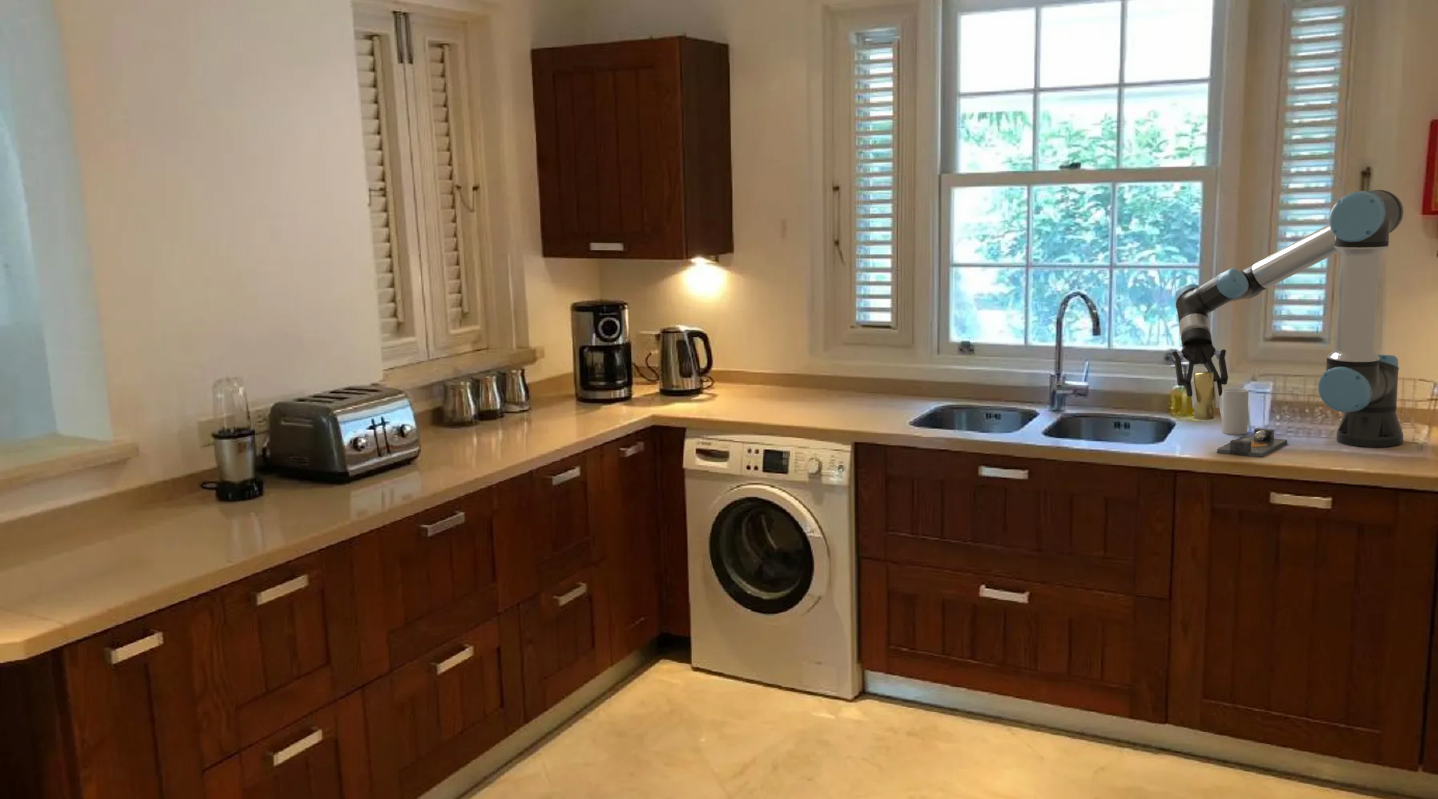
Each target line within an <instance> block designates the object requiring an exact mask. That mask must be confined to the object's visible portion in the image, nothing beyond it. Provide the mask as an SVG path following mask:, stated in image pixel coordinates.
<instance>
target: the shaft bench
mask: <svg viewBox="0 0 1438 799" xmlns="http://www.w3.org/2000/svg"><path fill="white" fill-rule="evenodd" d="M1287 444H1288V439H1286V438H1285V439H1284V438H1275V429H1270V428H1261V427H1256V428H1254V429H1253V436H1252V435H1242V436H1240V437H1238V438H1236V439H1231V440H1230V441H1229V442H1228V443H1226V444H1224V445H1222V446H1220V447H1218V448H1217V449H1216V453H1217V454H1224V453H1225V454H1224V455H1226V454H1228V455H1234V456H1244V457H1245V456H1246V457H1254V458H1255V457H1256V458H1263V457H1265V456H1266V455H1269V454H1270V453H1272V452H1274V451H1275V450H1277V449H1280V448H1282V447H1283V446H1285V445H1287Z"/></svg>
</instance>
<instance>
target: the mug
mask: <svg viewBox="0 0 1438 799" xmlns="http://www.w3.org/2000/svg"><path fill="white" fill-rule="evenodd" d="M1249 391H1250V390H1249V388H1242V387H1241V388H1240V387H1226V388H1222V395H1221V396H1219V398H1220V404H1219V413H1220V418H1221V425H1222V426H1221V430H1222V434H1226V435H1234V436H1235V435H1245V434H1247V432H1248V416H1249V411H1248V410H1249Z"/></svg>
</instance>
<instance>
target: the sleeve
mask: <svg viewBox="0 0 1438 799" xmlns="http://www.w3.org/2000/svg"><path fill="white" fill-rule="evenodd" d="M1193 382H1194V384H1195V391H1196V397H1197V407H1196V409H1193V411H1194V412H1193V413H1194V414H1193V417H1194V418H1193V419H1194V420H1198V421H1208V420H1214V419H1215V401H1214V372H1208V371H1195V372H1193Z"/></svg>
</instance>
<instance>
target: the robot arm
mask: <svg viewBox="0 0 1438 799" xmlns="http://www.w3.org/2000/svg"><path fill="white" fill-rule="evenodd" d="M1404 212H1405V211H1404V206H1403V203H1402V201H1401V200H1400V198H1399V197H1398V196H1397V195H1396V194H1395V193H1393V192H1390V191H1388V190H1384V189H1374V190H1373V189H1371V190H1360V191H1358V190H1357V191H1354V192H1351V193H1348V194H1346V195H1344V196H1342V197H1341V198H1340V199H1338V200H1337V201H1336V203H1335V204H1334V205H1333V207H1332V208H1331V210H1330V213H1329V218H1328V224H1327V225H1324V226H1323V227H1321V228H1319V229H1317V230H1316V231H1314V232H1312V233H1310V234H1308V235H1306V236H1305V237H1303V238H1300V239H1298V240H1296V241H1294V242H1293V243H1291V244H1289V245H1287V246H1285V247H1284V248H1282V249H1280V250H1278V251H1276V252H1274V253H1272V254H1271V255H1268V256H1267V257H1265V258H1263V259H1261V260H1259V261H1257V262H1256V263H1253V264H1251V265H1249V266H1248V267H1246V268H1244V269H1242V270H1240V269H1238V268H1236V267H1232V268H1229V269H1226V270H1225V271H1221V273H1219V274H1218V275H1216V276H1215V277H1213V278H1212V279H1210V280H1208V281H1206V282H1205V283H1203V284H1202V285H1199V284H1195V283H1190V284H1188V285H1183V286H1181V287H1179V288H1178V289H1177V290H1176V292H1175V308H1176V312H1177V318H1178V324H1179V325H1178V327H1179V333H1180V335H1179V336H1180V341H1181V347H1182V348H1181V350H1180V351H1176V350H1175V351H1173V352H1172V355H1171V360H1172V361H1173V363H1174V366H1175V367H1174V368H1175V374H1176V376H1175V377H1176V382H1177V386H1179V387H1182V386H1183V387H1184V388H1185V391H1186V396H1187V397H1188V398H1189V397H1191V398H1190V399H1191V403H1192V409H1193V410H1194V409H1196V407H1197V397H1196V391H1195V384H1194V381H1192V378H1193V374H1194V367H1195V365H1204V367H1205V369H1206V370H1207V372H1214V408H1216V409H1220V406H1219V404H1220V397H1221V395H1222V389H1223V385H1227V384H1228V381H1229V374H1228V370H1227V363H1226V354H1227V349H1221V350H1218V349H1216V348H1215V347H1214V344H1213V340H1212V335H1211V328H1210V327H1211V326H1210V323H1209V315H1208V314H1209V313H1212V312H1213V311H1216V309H1218V308H1220V307H1223V306H1224V305H1226V304H1228V303H1230V302H1235V301H1241V300H1246V299H1251V298H1254V297H1257V296H1258V295H1260V294H1261V293H1262V292H1263V291H1265V290H1266V289H1268V288H1270V287H1272V286H1275V285H1277V284H1278V283H1280V282H1283V281H1284V280H1286V279H1288V278H1290V277H1293V276H1295V275H1296V274H1298V273H1300V272H1302V271H1304V270H1306V269H1308V268H1310V267H1312V266H1314V265H1316V264H1318V263H1320V262H1322V261H1324V260H1326V259H1327V258H1330V257H1332V256H1334V255H1336V254H1337V253H1339V255H1340V256H1339V257H1340V259H1339V260H1340V262H1339V271H1338V273H1339V276H1338V287H1337V288H1338V290H1337V302H1336V320H1335V333H1334V335H1335V336H1334V347H1333V350H1332V351H1330V352H1329V353H1328V354H1327V356H1326V364H1325V366H1326V367H1325V372H1324V373H1323V374H1322V375H1321V376H1320V378H1319V381H1318V383H1317V384H1318V386H1317V389H1318V395H1319V397H1320V398H1321V400H1322V402H1323V403H1324V404H1325V405H1326V406H1327V407H1329V408H1330V409H1332V410H1334V411H1337V412H1340V413H1341V412H1342V413H1343V416H1342V418H1341V421H1340V423H1339V424H1338V425H1339V426H1338V428H1337V430H1336V441H1337V442H1339V443H1341V444H1344V445H1349V446H1357V447H1364V448H1365V447H1367V448H1382V447H1383V448H1387V447H1396V446H1401V445H1402V444H1404V432H1403V429H1402V426H1401V423H1400V420H1399V418H1398V414H1397V402H1398V385H1399V384H1398V381H1399V379H1398V378H1399V370H1400V366H1399V359H1398V357H1397V356H1396V355H1393V354H1379V353H1376V351H1374V346H1375V335H1376V334H1375V333H1376V322H1377V321H1376V319H1377V306H1378V293H1379V283H1380V282H1379V279H1380V267H1381V265H1380V264H1381V255H1382V253H1383V252H1384V251H1386V250H1387V249H1388V248H1389V243H1390V242H1389V240H1390V234H1391V233H1393V232H1394V231H1395V230H1396V229H1398V227H1399V226H1400V225H1401V222H1402V221H1403V218H1404ZM1214 356H1216V359H1217V360H1218V367H1219V372H1218V371H1217V368H1216V367H1215V364H1214V363H1213V359H1212V358H1213V357H1214ZM1182 358H1184V359H1185V360H1186V361H1187V362H1189V363H1188V367H1187V368H1188V369H1187V374H1186V379H1185V378H1184V374H1183V366H1182V365H1183V364H1182V361H1181V360H1182ZM1219 373H1220V375H1219Z"/></svg>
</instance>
